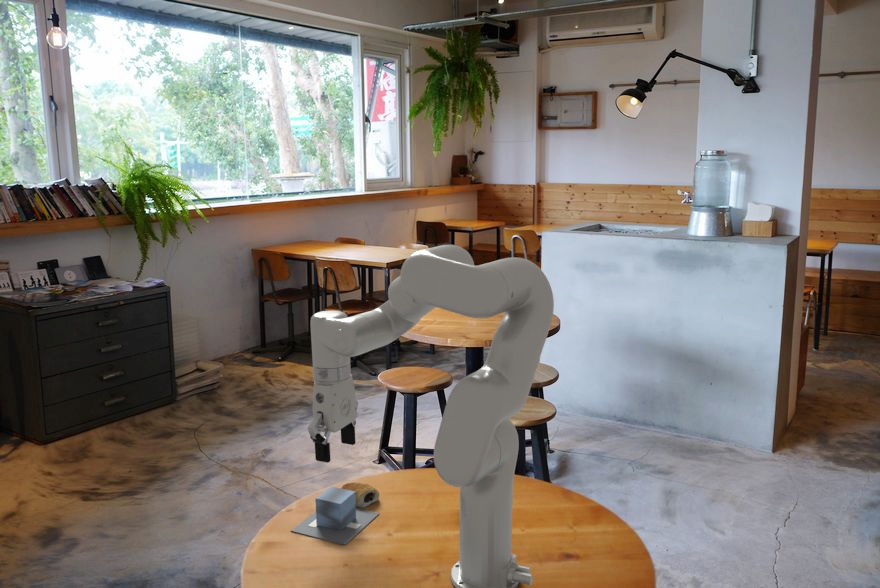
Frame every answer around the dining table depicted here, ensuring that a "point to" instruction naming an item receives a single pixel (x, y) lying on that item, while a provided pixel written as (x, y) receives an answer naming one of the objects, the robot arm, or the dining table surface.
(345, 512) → the slate blue cube
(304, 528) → the board
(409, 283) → the robot arm
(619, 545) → the dining table surface
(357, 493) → the pastry
